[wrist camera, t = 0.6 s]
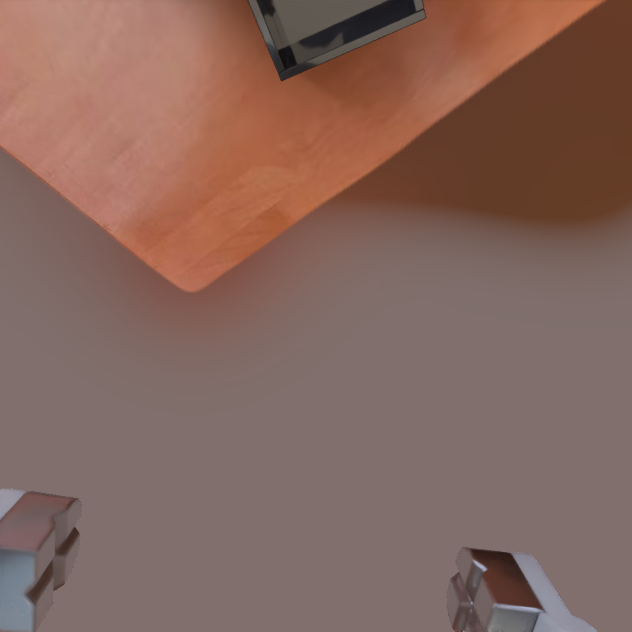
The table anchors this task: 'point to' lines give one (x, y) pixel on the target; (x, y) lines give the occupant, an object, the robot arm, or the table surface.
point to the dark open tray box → (327, 28)
